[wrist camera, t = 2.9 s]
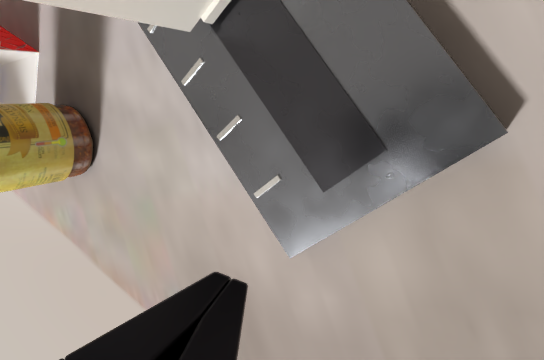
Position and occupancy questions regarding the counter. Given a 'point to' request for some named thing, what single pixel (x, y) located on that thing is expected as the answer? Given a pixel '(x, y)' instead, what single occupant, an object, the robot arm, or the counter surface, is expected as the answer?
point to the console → (326, 105)
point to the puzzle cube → (17, 70)
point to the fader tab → (149, 10)
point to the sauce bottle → (41, 144)
